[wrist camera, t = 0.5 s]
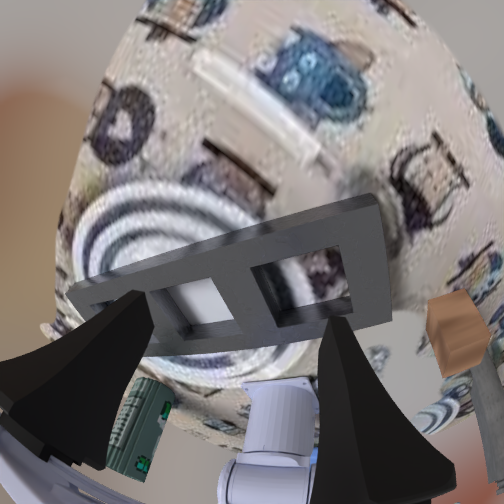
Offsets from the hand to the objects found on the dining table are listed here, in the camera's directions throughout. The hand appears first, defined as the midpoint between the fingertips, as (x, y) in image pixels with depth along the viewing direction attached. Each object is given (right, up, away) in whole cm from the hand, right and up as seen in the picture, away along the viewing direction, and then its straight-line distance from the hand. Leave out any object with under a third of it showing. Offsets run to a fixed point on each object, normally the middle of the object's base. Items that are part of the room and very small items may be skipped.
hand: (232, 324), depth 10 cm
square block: (+19, -3, +10) cm, 21 cm away
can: (-14, -18, +25) cm, 33 cm away
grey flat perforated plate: (-4, -1, +13) cm, 13 cm away
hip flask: (+33, -14, +15) cm, 39 cm away
